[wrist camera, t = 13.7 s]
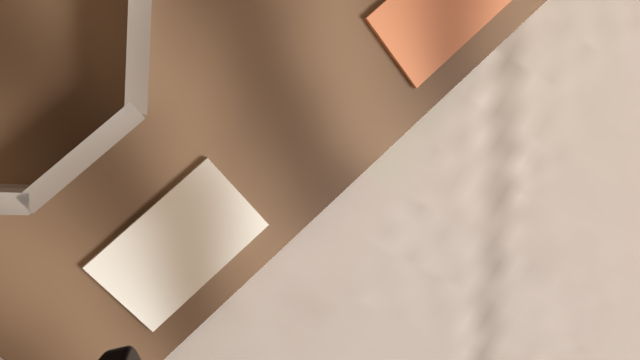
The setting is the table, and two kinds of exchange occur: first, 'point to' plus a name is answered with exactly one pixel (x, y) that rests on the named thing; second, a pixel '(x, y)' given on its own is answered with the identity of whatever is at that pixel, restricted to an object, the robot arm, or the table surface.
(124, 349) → the robot arm
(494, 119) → the table surface
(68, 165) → the tag board
